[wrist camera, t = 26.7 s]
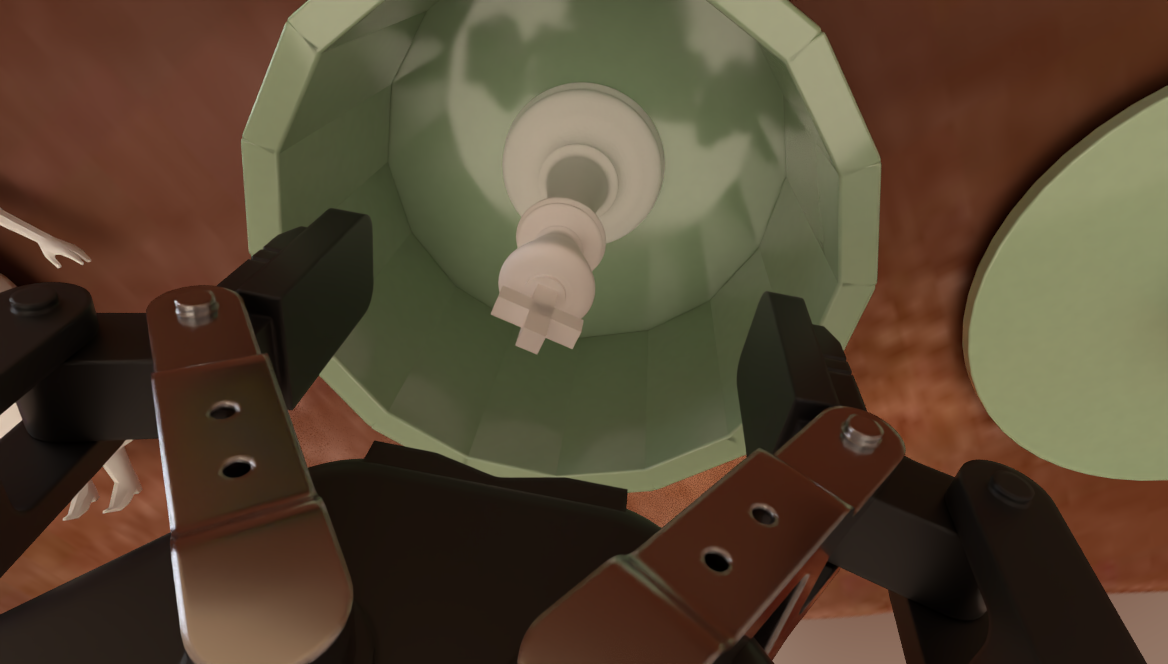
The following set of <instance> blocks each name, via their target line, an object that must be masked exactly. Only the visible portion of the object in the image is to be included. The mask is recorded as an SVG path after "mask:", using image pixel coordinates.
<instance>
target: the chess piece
mask: <svg viewBox="0 0 1168 664" xmlns="http://www.w3.org/2000/svg"><path fill="white" fill-rule="evenodd" d="M502 169H503V179H504V183H505V187H506V190H507V193H508V196H509V198H510V200H511V202H512V204H513V206H514V207H515V209H516V210H517V212H518V213H519V215H520V216H521V219H520V221H519V223H518V226H517V231H516V242H517V247H518V248H517V249H516V250H515V251H513V252H512V253H511V254H510V255H509V256H508V258H507V259H506V260H505V262H504V263H503V265H502V268H501V270H500V274H499V280H498V287H499V292H500V293H499V295H498V298H497V300H496V302H495V305H494V307H493V309H492V312H491V315H493V316H495V317H498V318H500V319H502V320H505V321H507V322H509V323H512V324H514V325H516V326H519V327H521V329H520V332H519V335H518V338H517V341H516V344H515V346H518V347H520V348H522V349H525V350H527V351H530V352H532V353H534V354H538V352H539V350H540V348H541V346H542V344H543V342H544V340H545V338H547V339H549V340H552V341H554V342H556V343H559V344H561V345H564V346H566V347H568V348H571V349H573V347H574V345H575V343H576V341H577V339H578V338H579V336H580V334H581V332H582V326H583V321H584V320H582V318H583V317H584V316H585V315H586V314H587V312H588V311H589V309H590V308H591V306H592V303H593V300H594V296H595V280H594V276H593V273H592V271H593V270H594V269H595V268H596V267H597V266H598V264H599V263H600V261H601V260H602V258H603V255H604V252H605V248H606V244H607V243H610V242H613V241H615V240H618V239H620V238H622V237H623V236H625V235H627V234H628V233H630V232H631V231H633V230H634V229H635V228H636V227H637V226H638V225H639V224H640V223H641V222H642V221H643V220H644V219H645V218H646V217H647V215H648V214H649V212H650V211H651V209H652V207H653V206H654V204H655V201H656V199H657V197H658V195H659V192H660V190H661V186H662V183H663V178H664V169H665V159H664V151H663V146H662V142H661V139H660V136H659V134H658V131H657V129H656V127H655V125H654V124H653V122H652V120H651V119H650V117H649V116H648V115H647V114H646V112H645V111H644V110H643V109H642V108H641V107H640V106H639V105H638V104H637V103H636V102H635V101H633V100H632V99H631V98H629V97H628V96H626V95H625V94H623V93H621V92H619V91H617V90H615V89H613V88H610V87H607V86H604V85H600V84H595V83H587V82H576V83H568V84H563V85H559V86H556V87H553V88H551V89H548V90H546V91H544V92H543V93H541V94H539V95H538V96H536V97H535V98H533V99H532V100H531V101H530V102H529V103H528V104H527V105H525V107H524V108H523V109H522V110H521V111H520V112H519V114H518V115H517V116H516V118H515V120H514V121H513V123H512V125H511V127H510V129H509V132H508V135H507V138H506V142H505V147H504V152H503V162H502Z"/></svg>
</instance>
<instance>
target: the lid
mask: <svg viewBox="0 0 1168 664" xmlns="http://www.w3.org/2000/svg"><path fill="white" fill-rule="evenodd" d="M962 346H963V353H964V360H965V367H966V370H967V373H968V376H969V379H970V382H971V385H972V388H973V390H974V391H975V393H976V395H977V397H978V398H979V400H980V402H981V404H982V406H983V407H984V409H985V410H986V412H987V413H988V415H989V416H990V417H991V418H992V419H993V421H994V422H995V423H996V424H997V425H998V427H999V428H1000V429H1001V430H1002V431H1003V432H1004V433H1005V434H1006V435H1008V436H1009V437H1010V438H1011V439H1012V440H1013V441H1015V442H1016V443H1017V444H1018V445H1020V446H1021V447H1023V448H1024V449H1026V450H1028V451H1029V452H1031V453H1033V454H1034V455H1036V456H1038V457H1039V458H1042V459H1044V460H1046V461H1049V462H1051V463H1053V464H1056V465H1058V466H1060V467H1063V468H1067V469H1070V470H1073V471H1077V472H1080V473H1084V474H1088V475H1094V476H1100V477H1106V478H1111V479H1124V480H1138V481H1150V480H1168V85H1167V86H1165V87H1164V88H1162V89H1160V90H1158V91H1156V92H1154V93H1152V94H1151V95H1149V96H1147V97H1145V98H1143V99H1141V100H1140V101H1138V102H1136V103H1134V104H1132V105H1131V106H1129V107H1128V108H1126V109H1125V110H1123V111H1122V112H1120V113H1119V114H1117V115H1116V116H1114V117H1113V118H1111V119H1110V120H1108V121H1107V122H1105V123H1104V124H1102V125H1101V126H1099V127H1098V128H1096V129H1095V130H1093V131H1092V132H1091V133H1090V134H1088V135H1087V136H1086V137H1085V138H1084V139H1082V140H1081V141H1080V142H1079V143H1077V144H1076V145H1075V146H1074V147H1072V148H1071V149H1070V150H1069V151H1067V152H1066V153H1065V154H1064V155H1062V156H1061V157H1060V158H1059V159H1058V160H1057V161H1056V162H1055V163H1054V164H1053V165H1052V166H1051V167H1050V168H1049V169H1048V170H1047V171H1046V172H1045V173H1044V174H1043V175H1042V176H1041V177H1040V178H1039V179H1038V180H1037V181H1036V182H1035V183H1034V184H1033V185H1032V186H1031V188H1030V189H1029V190H1028V191H1027V192H1026V193H1025V195H1024V196H1023V197H1022V198H1021V199H1020V201H1019V202H1018V203H1017V204H1016V205H1015V207H1014V208H1013V209H1012V210H1011V211H1010V213H1009V214H1008V216H1007V217H1006V219H1005V220H1004V222H1003V223H1002V225H1001V226H1000V228H999V229H998V231H997V232H996V234H995V235H994V237H993V238H992V240H991V242H990V244H989V246H988V248H987V250H986V252H985V254H984V256H983V258H982V260H981V262H980V264H979V266H978V268H977V271H976V274H975V276H974V279H973V282H972V285H971V288H970V290H969V293H968V298H967V303H966V308H965V313H964V318H963V340H962Z"/></svg>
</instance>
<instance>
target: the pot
mask: <svg viewBox="0 0 1168 664" xmlns="http://www.w3.org/2000/svg"><path fill="white" fill-rule="evenodd" d="M287 20H288V21H287V22H286V23H285V25H284V28H283V30H282V33H281V36H280V38H279V41H278V43H277V46H276V49H275V51H274V54H273V56H272V59H271V62H270V64H269V67H268V69H267V72H266V75H265V77H264V80H263V82H262V85H261V87H260V90H259V93H258V95H257V98H256V100H255V103H254V106H253V108H252V111H251V113H250V116H249V119H248V121H247V124H246V126H245V129H244V132H243V134H242V139H241V149H242V163H243V177H244V191H245V205H246V219H247V233H248V247H249V253H250V254H251V257H252V256H253V255H254V254H255V253H257V252H258V251H259V250H260V249H262V250H263V247H264V246H265V245H266V244H267V243H269V242H270V241H271V240H272V239H273V238H275V237H276V236H277V235H278V234H281V233H284V232H286V231H289V230H292V229H294V228H297V227H300V226H303V227H308V226H309V225H311V224H312V223H313V222H314V221H315V220H316V219H317V218H318V217H320V216H321V215H322V214H323V213H324V212H325V211H326V210H328V209H329V208H336V209H341V210H346V211H352V212H357V213H362V214H367V215H369V216H370V218H371V221H372V227H373V278H374V285H373V294H372V298H371V302H370V305H369V307H368V310H367V311H366V313H365V314H364V316H363V317H362V318H361V320H360V321H359V322H358V324H357V325H356V326H355V328H354V329H353V330H352V332H351V333H350V334H349V336H348V337H347V338H346V340H345V341H344V342H343V344H342V345H341V346H340V348H339V349H338V350H337V352H336V353H335V354H334V356H333V357H332V358H331V360H330V361H329V362H328V364H327V365H326V366H325V368H324V369H323V370H322V372H321V373H320V374H319V376H320V377H321V378H322V379H323V380H324V381H325V382H326V383H327V384H328V385H329V386H330V387H331V388H332V389H333V390H334V391H335V392H336V393H337V394H338V395H339V396H340V397H341V398H342V399H343V400H344V401H345V402H346V403H347V404H348V405H349V406H350V407H351V408H352V409H353V410H354V411H355V412H356V413H357V414H358V415H359V416H360V417H361V418H362V419H363V420H364V421H365V422H366V423H367V424H368V425H369V426H372V429H374V430H375V431H377V432H379V433H381V434H383V435H385V436H387V437H388V438H390V439H392V440H394V441H396V442H398V443H399V444H401V445H403V446H405V447H410V448H415V449H420V450H426V451H431V452H436V453H439V454H441V455H444V456H446V457H448V458H451V459H453V460H456V461H458V462H461V463H463V464H465V465H468V466H470V467H473V468H475V469H478V470H480V471H482V472H485V473H487V474H490V475H493V476H496V477H566V478H571V479H577V480H582V481H587V482H592V483H597V484H603V485H608V486H613V487H618V488H623V489H628V492H627V493H630V492H644V491H654V489H655V490H657V489H660V488H663V487H665V486H668V485H670V484H673V483H675V482H678V481H680V480H683V479H685V478H688V477H691V476H693V475H696V474H698V473H701V472H703V471H706V470H708V469H711V468H713V467H716V466H719V465H721V464H724V463H726V462H729V461H731V460H734V459H736V458H739V457H741V456H744V455H746V447H745V440H744V433H743V426H742V419H741V412H740V405H739V398H738V391H737V369H738V363H739V359H740V355H741V352H742V349H743V346H744V344H745V341H746V338H747V335H748V332H749V329H750V326H751V323H752V320H753V318H754V315H755V312H756V309H757V306H758V303H759V300H760V298H761V296H762V294H763V293H764V292H765V291H769V292H774V293H780V294H785V295H790V296H795V297H801V298H803V299H804V301H805V304H806V307H807V310H808V313H809V316H810V319H811V321H812V324H814V325H820V326H824V327H825V328H826V329H827V330H828V331H829V332H830V333H831V334H832V335H833V336H834V337H835V338H836V339H837V340H838V341H839V342H840V343H841V346H842V349H843V351H844V349H845V347H846V345H847V343H848V341H849V339H850V337H851V335H852V333H853V331H854V329H855V327H856V325H857V323H858V321H859V319H860V317H861V316H862V314H863V312H864V310H865V308H866V306H867V304H868V302H869V300H870V298H871V296H872V294H873V292H874V290H875V284H876V283H877V276H878V248H879V220H880V192H881V162H880V160H881V157H880V155H879V152H878V150H877V148H876V146H875V143H874V141H873V139H872V137H871V134H870V132H869V130H868V128H867V125H866V123H865V121H864V119H863V116H862V114H861V112H860V110H859V107H858V105H857V103H856V101H855V98H854V96H853V94H852V91H851V89H850V87H849V85H848V82H847V80H846V78H845V76H844V73H843V71H842V69H841V67H840V64H839V62H838V60H837V58H836V55H835V53H834V51H833V49H832V46H831V44H830V42H829V40H828V37H827V35H826V33H824V32H823V31H822V30H821V28H820V26H818V25H817V24H816V23H815V22H814V21H812V20H811V19H810V18H809V17H808V16H806V15H805V14H804V13H803V12H802V11H800V10H799V9H798V8H797V7H796V6H794V5H793V4H792V3H791V2H790V1H788V0H307V1H306V2H305V3H304V4H303V5H302V6H301V7H300V8H298V9H297V10H296V11H295V12H294V13H293V14H292V15H290V16H289V17H288V19H287ZM576 82H587V83H595V84H600V85H604V86H607V87H610V88H613V89H615V90H617V91H619V92H621V93H623V94H625V95H626V96H628V97H629V98H631V99H632V100H633V101H635V102H636V103H637V104H638V105H639V106H640V107H641V108H642V109H643V110H644V111H645V112H646V114H647V115H648V116H649V117H650V119H651V120H652V122H653V124H654V125H655V127H656V129H657V131H658V134H659V136H660V139H661V142H662V146H663V151H664V159H665V169H664V178H663V183H662V186H661V190H660V192H659V195H658V197H657V199H656V201H655V204H654V206H653V207H652V209H651V211H650V212H649V214H648V215H647V217H646V218H645V219H644V220H643V221H642V222H641V223H640V224H639V225H638V226H637V227H636V228H635V229H634V230H633V231H631V232H630V233H628V234H627V235H625V236H623V237H622V238H620V239H618V240H615V241H613V242H610V243H607V244H606V248H605V252H604V255H603V258H602V260H601V261H600V263H599V264H598V266H597V267H596V268H595V269H594V270H593V271H592V273H593V276H594V280H595V296H594V300H593V303H592V306H591V308H590V309H589V311H588V312H587V314H586V315H585V316H584V317H583V318H582V320H584V321H583V326H582V332H581V334H580V336H579V338H578V339H577V341H576V343H575V345H574V347H573V349H571V348H568V347H566V346H564V345H561V344H559V343H556V342H554V341H552V340H549V339H547V338H545V340H544V342H543V344H542V346H541V348H540V350H539V352H538V354H534V353H532V352H530V351H527V350H525V349H522V348H520V347H518V346H515V344H516V341H517V338H518V335H519V332H520V329H521V327H519V326H516V325H514V324H512V323H509V322H507V321H505V320H502V319H500V318H498V317H495V316H493V315H491V312H492V309H493V307H494V305H495V302H496V300H497V298H498V295H499V293H500V292H499V287H498V280H499V274H500V270H501V268H502V265H503V263H504V262H505V260H506V259H507V258H508V256H509V255H510V254H511V253H512V252H513V251H515V250H516V249H517V248H518V247H517V242H516V231H517V226H518V223H519V221H520V219H521V216H520V215H519V213H518V212H517V210H516V209H515V207H514V206H513V204H512V202H511V200H510V198H509V196H508V193H507V190H506V187H505V183H504V179H503V169H502V162H503V152H504V147H505V142H506V138H507V135H508V132H509V129H510V127H511V125H512V123H513V121H514V120H515V118H516V116H517V115H518V114H519V112H520V111H521V110H522V109H523V108H524V107H525V105H527V104H528V103H529V102H530V101H531V100H532V99H533V98H535V97H536V96H538V95H539V94H541V93H543V92H544V91H546V90H548V89H551V88H553V87H556V86H559V85H563V84H568V83H576Z"/></svg>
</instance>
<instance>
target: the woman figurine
mask: <svg viewBox="0 0 1168 664" xmlns="http://www.w3.org/2000/svg"><path fill="white" fill-rule="evenodd" d="M0 225H1V226H3V227H5V228H8V229H10V230H12V231H14V232H16V233H18V234H21V235H23V236H25V237H27V238H29V239H31V240H33V241H36V242H38V244H39V246H40V248H41V250H42V252H43V254H44V255H45V257H46V258H47V259H48V260H49V261H50V262H51V263H53V264H54V265H55V266H56V267H57V268H60V267H61V264H60V263H59V262H58V261H57V260H56V259H55V255H59V254H60V255H63V256H65V257H68V258H70V259H72V260H74V261H76V262H77V263H79V264H81V265H83V264H84V262H83V261H82V260H81V259H83V260H85V261H86V262H91V258H90V257H89V256H87V255H86V254H85V252H84V251H83V250H82V249H80V248H79V247H77V246H76V245H74V244H71V243H69V242H66V241H63V240H61V239H58V238H55V237H53V236H51V235H49V234H47V233H45V232H43V231H41V230H39V229H38V228H36V227H34V226H32V225H30V224H28V223H26V222H24V221H22V220H21V219H19V218H17V217H15V216H13V215H11V214H9V213H7V212H5V211H4V210H3V209H2V208H0ZM80 258H81V259H80ZM15 287H17V286H16V285H15V284H14V283H13V282H12V281H10V280H9V279H8V278H7V277H6V276H4V275H3V274H1V273H0V293H1V292H3V291H6V290H9V289H12V288H15ZM20 421H22V417H21V415H20V412H19V410H18V407H17V405H16V402H15V403H14V404H13V405H12V406H11V407H9V408H8V409H7V410H6V411H5V412H3V413H2V414H1V415H0V439H1V438H2V437H3V436H4V435H5V434H7V433H8V432H9V431H10V430H11V429H12V428H13V427H15V426H16V425H17V424H18V423H19V422H20ZM131 441H133V440H126V441H125V442H124V443H123V444H122V446H121V447H120V448H119V449H118V450H117V451H116V452H115V453H114V454H113V455H112V456H111V458H110V459H109V460H108V461H107V462H106V463H105V464H104V465H103V467H104V469H105V470H106V471H107V473H108V474H109V475H110V477H111V478H112V480H113V481H114V482H115V483H114V487H113V492H112V496H111V501H110V505H109V508H107V509H106V510H104V511H103V513H108V512H114V511H120V510H122V509H123V508H124V507H125V506H127V505H128V504H129V503H130V501H131V499H132V497H133V495H134V494H139V493H140V491H141V490H142V487H141V484H140V481H139V479H138V476H137V475H136V473H135V471H134V469H133V467H132V464H131V462H130V460H129V457H128V455H127V452H126V450H125V447H124V446H125V445H127V444H128V443H130V442H131ZM98 499H99V494H98V492H97V489H96V487H95V485H94V483H93V482H92V480H91V479H90V481H89V482H88V483H87V484H86V485H85V486H84V487H83V488H82V489H81V490H80V491H79V493H78V494H77V495H76V496H75V497H74V498H73V499H72V501H71V505H70V508H69V512H68V515H67V516H65V517H64V518H63V521H64V520H70V519H75V518H79V517H80V516H81V515H83V514H84V513H85V512H86V511H87V510H88V509H89V506H90V504H91V502H95V501H97V500H98Z"/></svg>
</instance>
